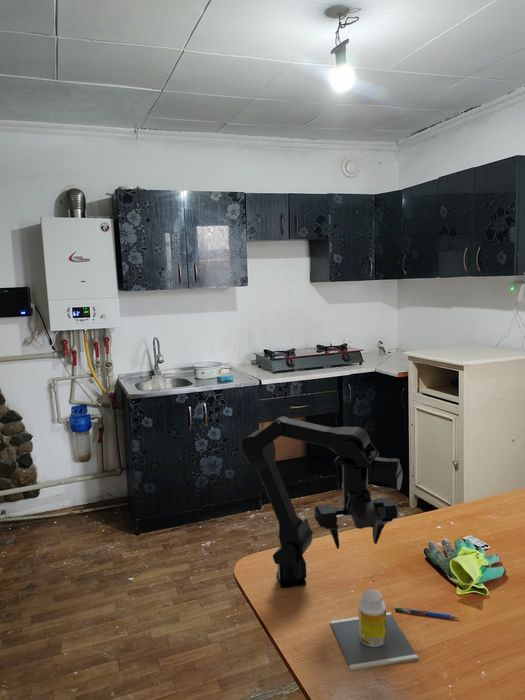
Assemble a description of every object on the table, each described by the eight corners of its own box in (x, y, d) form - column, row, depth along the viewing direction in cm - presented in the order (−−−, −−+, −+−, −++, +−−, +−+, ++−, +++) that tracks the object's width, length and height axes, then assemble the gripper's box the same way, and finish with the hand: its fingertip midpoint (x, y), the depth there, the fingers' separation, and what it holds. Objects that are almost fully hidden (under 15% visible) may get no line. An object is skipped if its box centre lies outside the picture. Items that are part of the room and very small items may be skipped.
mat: (350, 670, 102) (350, 668, 102) (330, 623, 116) (330, 621, 116) (417, 659, 104) (418, 657, 104) (390, 614, 118) (390, 612, 118)
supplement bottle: (390, 647, 107) (389, 601, 106) (363, 650, 107) (362, 604, 105) (381, 628, 113) (380, 585, 111) (356, 631, 112) (355, 588, 111)
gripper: (325, 502, 111) (327, 570, 114) (408, 493, 114) (408, 559, 116) (312, 481, 122) (314, 543, 124) (388, 473, 125) (388, 534, 127)
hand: (356, 545), depth 123 cm, fingers open, 9 cm apart
